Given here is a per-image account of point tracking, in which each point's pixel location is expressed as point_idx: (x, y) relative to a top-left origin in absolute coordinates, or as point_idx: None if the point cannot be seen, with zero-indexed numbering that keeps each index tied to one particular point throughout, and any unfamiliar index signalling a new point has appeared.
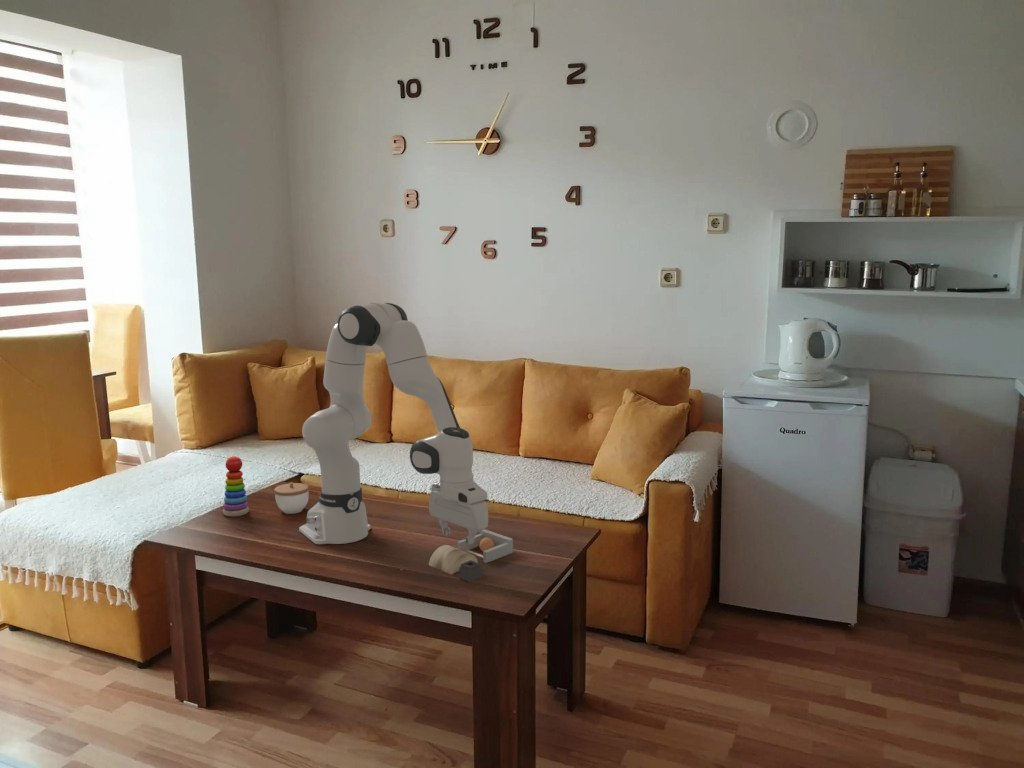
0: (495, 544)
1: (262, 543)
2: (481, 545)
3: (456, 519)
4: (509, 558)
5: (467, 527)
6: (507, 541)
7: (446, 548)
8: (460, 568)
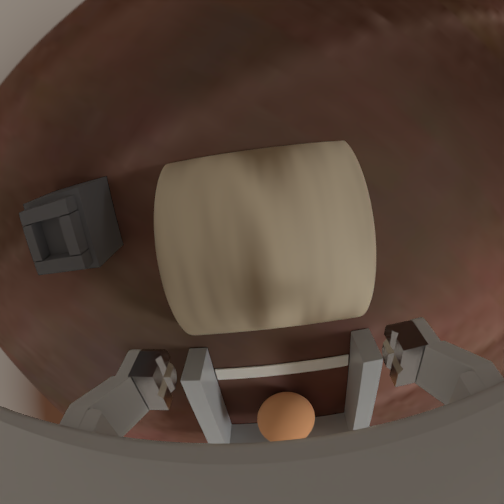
0: None
1: None
2: (285, 406)
3: (196, 497)
4: (184, 409)
5: (55, 430)
6: None
7: (322, 260)
8: (74, 187)
